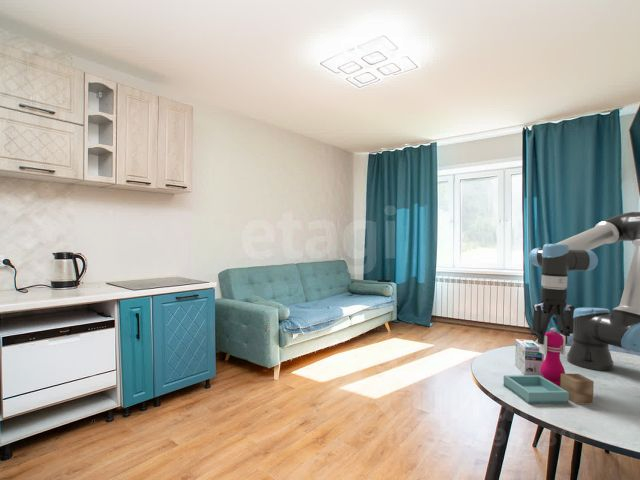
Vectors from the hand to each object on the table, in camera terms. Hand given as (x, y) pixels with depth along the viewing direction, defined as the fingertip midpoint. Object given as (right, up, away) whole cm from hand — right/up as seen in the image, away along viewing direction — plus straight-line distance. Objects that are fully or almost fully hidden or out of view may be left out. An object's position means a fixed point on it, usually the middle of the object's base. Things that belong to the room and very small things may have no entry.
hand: (552, 353), depth 121 cm
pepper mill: (0, -11, 0) cm, 11 cm away
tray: (-11, -11, -8) cm, 18 cm away
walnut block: (0, -11, -11) cm, 16 cm away
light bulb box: (-1, -11, +12) cm, 16 cm away
